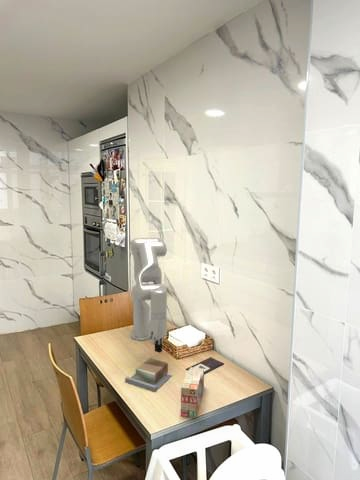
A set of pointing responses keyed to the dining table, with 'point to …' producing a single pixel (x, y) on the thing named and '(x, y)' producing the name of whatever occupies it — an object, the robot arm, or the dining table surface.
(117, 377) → the dining table surface
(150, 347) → the dining table surface
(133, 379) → the mat
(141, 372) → the walnut block
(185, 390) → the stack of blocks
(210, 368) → the chocolate bar
